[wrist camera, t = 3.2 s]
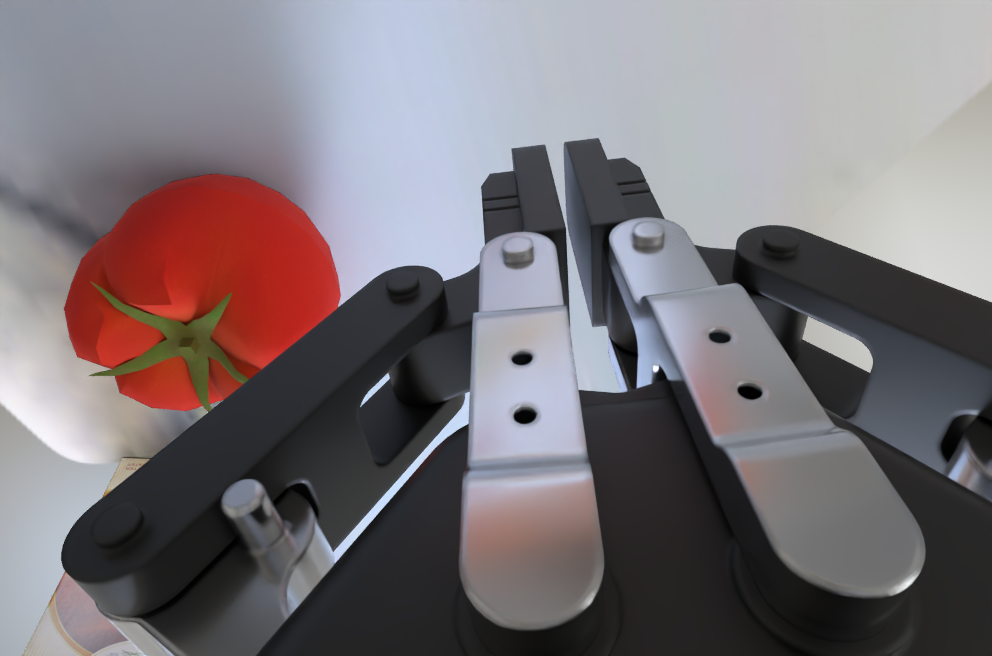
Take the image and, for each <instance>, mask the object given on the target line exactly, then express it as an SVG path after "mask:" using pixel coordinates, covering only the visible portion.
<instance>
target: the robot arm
mask: <svg viewBox="0 0 992 656" xmlns="http://www.w3.org/2000/svg"><path fill="white" fill-rule="evenodd" d="M512 160H513V170H514V171H510V172H501V173H493V174H490V175H489V176H488V178H487V179H486V180H485V182H484V183H483V185H482V186H481V189H482V205H483V221H484V236H485V246H484V247H483V248H482V250H481V253H480V263H479V264H478V265H477V266H476V267H475V268H474V269H472V270H470V271H469V272H467V273H465V274H463V275H461V276H458V277H456V278H452V279H449V280H446V281H443V279H442V277H441V275H440V274H439V273H438V272H436V271H435V270H433V269H430V268H428V267H423V266H403V267H398V268H395V269H391V270H389V271H386V272H384V273H382V274H380V275H379V276H377V277H376V278H374V279H373V280H372V281H371V282H369V283H368V284H367V285H366V286H365V287H363V288H362V289H361V290H360V291H358V292H357V293H356V294H355V295H353V296H352V297H351V298H350V299H348V300H347V301H346V302H345V303H343V304H342V305H341V306H340V307H338V308H337V309H336V310H335V311H334V312H332V313H331V314H330V315H329V316H327V317H326V318H325V319H324V320H322V321H321V322H320V323H319V324H317V325H316V326H315V327H314V328H312V329H311V330H310V331H309V332H307V333H306V334H305V335H304V336H303V337H301V338H300V339H299V340H298V341H296V342H295V343H294V344H293V345H291V346H290V347H289V348H288V349H286V350H285V351H284V352H283V353H281V354H280V355H279V356H278V357H276V358H275V359H274V360H273V361H272V362H270V363H269V364H268V365H267V366H265V367H264V368H263V369H262V370H260V371H259V372H258V373H257V374H255V375H254V376H253V377H252V378H250V379H249V380H248V381H247V382H245V383H244V384H243V385H242V386H241V387H239V388H238V389H237V390H236V391H234V392H233V393H232V394H231V395H229V396H228V397H227V398H226V399H224V400H223V401H222V402H221V403H219V404H218V405H217V406H216V407H214V408H213V409H212V410H211V411H210V412H208V413H207V414H206V415H205V416H203V417H202V418H201V419H200V420H198V421H197V422H196V423H195V424H193V425H192V426H191V427H190V428H188V429H187V430H186V431H185V432H183V433H182V434H181V435H180V436H178V437H177V438H176V439H175V440H174V441H172V442H171V443H170V444H169V445H167V446H166V447H165V448H164V449H162V450H161V451H160V452H159V453H157V454H156V455H155V456H154V457H152V458H151V459H150V460H149V461H147V462H146V463H145V464H144V465H143V466H141V467H140V468H139V469H138V470H136V471H135V472H134V473H133V474H131V475H130V476H129V477H128V478H126V479H125V480H124V481H123V482H121V483H120V484H119V485H118V486H116V487H115V488H114V489H113V490H112V491H110V492H109V493H108V494H107V495H105V496H104V497H103V498H102V499H101V500H99V501H98V502H97V503H96V504H94V505H93V506H92V507H91V508H89V509H88V510H87V511H86V512H85V513H84V514H83V515H82V516H81V517H80V518H79V519H78V520H77V522H76V523H75V524H74V525H73V527H72V528H71V530H70V532H69V533H68V535H67V537H66V539H65V541H64V544H63V548H62V552H61V561H62V565H63V568H64V570H65V571H66V573H67V574H68V575H69V576H70V577H71V578H72V579H73V580H74V581H75V582H76V583H77V584H78V585H79V586H80V587H81V588H82V589H83V590H84V591H85V592H86V593H87V594H88V595H89V596H90V597H91V598H92V599H93V600H94V601H95V604H96V607H97V608H98V610H99V612H100V613H101V614H102V615H103V616H104V617H105V618H106V619H107V620H108V621H109V622H110V623H111V624H112V625H113V626H114V627H115V628H116V629H117V630H118V631H119V632H121V633H122V634H123V635H124V636H125V637H126V638H127V639H128V640H129V641H130V642H131V643H132V644H133V645H134V646H135V647H136V648H137V649H138V650H139V651H140V652H141V653H142V654H144V655H146V656H992V302H989V301H986V300H984V299H981V298H978V297H976V296H973V295H971V294H968V293H965V292H963V291H960V290H957V289H955V288H952V287H950V286H947V285H944V284H942V283H939V282H937V281H934V280H931V279H929V278H926V277H923V276H921V275H918V274H915V273H913V272H910V271H908V270H905V269H902V268H900V267H897V266H894V265H892V264H889V263H887V262H884V261H881V260H879V259H876V258H873V257H871V256H868V255H866V254H863V253H860V252H858V251H855V250H852V249H850V248H847V247H845V246H842V245H839V244H837V243H834V242H832V241H829V240H826V239H824V238H821V237H819V236H816V235H813V234H811V233H808V232H805V231H803V230H800V229H797V228H793V227H788V226H778V225H769V226H760V227H756V228H753V229H750V230H748V231H746V232H744V233H743V234H742V235H740V237H739V238H738V240H737V244H736V250H731V249H718V248H707V247H701V246H697V245H694V244H693V243H692V241H691V239H690V238H689V236H688V234H687V233H686V231H685V230H684V229H683V228H682V227H681V226H680V225H678V224H676V223H674V222H672V221H669V220H665V219H664V217H663V215H662V213H661V211H660V209H659V206H658V204H657V202H656V200H655V198H654V196H653V194H652V192H651V190H650V188H649V186H648V184H647V182H646V179H645V177H644V175H643V173H642V171H641V169H640V167H638V166H637V165H635V164H634V163H632V162H630V161H629V160H627V159H626V158H619V159H610V160H607V157H606V155H605V153H604V150H603V148H602V145H601V143H600V140H599V139H598V138H595V139H587V140H579V141H570V142H564V171H565V195H566V214H567V224H568V231H569V236H570V240H571V244H572V248H573V252H574V256H575V260H576V264H577V268H578V272H579V275H580V279H581V283H582V287H583V291H584V295H585V299H586V303H587V307H588V311H589V315H590V319H591V323H592V327H599V326H607V328H608V332H609V338H608V353H609V357H610V360H611V363H612V366H613V369H614V372H615V375H616V378H617V381H618V384H619V387H620V390H621V393H609V392H596V391H584V390H578V383H577V376H576V369H575V362H574V355H573V347H572V340H571V333H570V314H569V290H568V267H567V244H566V227H565V223H564V219H563V215H562V211H561V207H560V203H559V199H558V195H557V191H556V187H555V183H554V179H553V175H552V171H551V167H550V163H549V159H548V155H547V151H546V147H545V145H537V146H529V147H521V148H512ZM808 316H809V317H811V318H813V319H815V320H817V321H819V322H822V323H824V324H826V325H828V326H830V327H832V328H834V329H837V330H839V331H841V332H843V333H845V334H847V335H849V336H852V337H854V338H856V339H857V340H859V341H861V342H862V343H863V344H864V345H865V346H866V347H867V348H868V349H869V351H870V353H871V355H872V357H873V367H872V370H871V372H870V373H869V372H867V371H865V370H863V369H861V368H859V367H857V366H855V365H853V364H851V363H849V362H847V361H845V360H842V359H841V358H839V357H837V356H834V355H833V354H831V353H828V352H827V351H824V350H822V349H820V348H818V347H816V346H814V345H812V344H810V343H808V342H806V341H804V340H802V337H803V334H804V329H805V326H806V322H807V318H808ZM387 373H389V376H390V379H389V380H388V381H387V382H386V383H385V384H384V385H383V386H382V387H381V388H380V389H379V390H378V391H377V392H376V393H375V394H374V395H373V396H372V397H371V398H370V399H369V400H368V401H366V402H365V403H364V404H363V405H362V406H361V403H362V401H363V399H364V397H365V395H366V394H367V393H368V391H369V390H370V389H371V388H372V387H373V386H375V385H376V384H377V383H378V382H379V381H380V380H381V379H382V378H383V377H384V376H385V375H386V374H387ZM467 392H470V405H469V424H467V425H466V426H464V427H462V428H460V429H459V430H457V431H456V432H454V433H453V434H452V435H450V436H449V437H447V438H446V439H445V440H444V441H443V442H442V443H441V444H439V445H438V446H437V447H436V448H435V449H434V450H433V452H432V453H431V454H430V455H429V456H428V457H427V458H426V459H425V461H424V462H423V463H422V464H421V465H420V466H419V468H418V469H417V470H416V471H415V472H414V473H413V474H412V476H411V477H410V478H409V479H408V480H407V481H406V483H405V484H404V485H403V486H402V487H401V488H400V489H399V491H398V492H397V493H396V494H395V495H394V496H393V497H392V499H391V500H390V501H389V502H388V503H387V504H386V506H385V507H384V508H383V509H382V510H381V511H380V512H379V514H378V515H377V516H376V517H375V518H374V519H373V521H372V522H371V523H370V524H369V525H368V526H367V527H366V529H365V530H364V531H363V532H362V533H361V534H360V535H359V537H358V538H357V539H356V540H355V541H354V542H353V544H352V545H351V546H350V547H349V548H348V549H347V550H346V552H345V553H344V554H343V555H342V556H341V557H340V559H339V560H338V561H337V562H336V563H334V554H333V552H334V550H335V549H336V548H337V547H338V546H339V545H340V544H341V543H342V541H343V540H344V539H345V538H346V537H347V536H348V535H349V534H350V533H351V531H352V530H353V529H354V528H355V527H356V526H357V525H358V524H359V522H360V521H361V520H362V519H363V518H364V517H365V516H366V515H367V513H368V512H369V511H370V510H371V509H372V508H373V507H374V506H375V504H376V503H377V502H378V501H379V500H380V499H381V498H382V497H383V495H384V494H385V493H386V492H387V491H388V490H389V489H390V488H391V487H392V485H393V484H394V483H395V482H396V481H397V480H398V479H399V478H400V476H401V475H402V474H403V473H404V472H405V471H406V470H407V469H408V467H409V466H410V465H411V464H412V463H413V462H414V461H415V460H416V458H417V457H418V456H419V455H420V454H421V453H422V452H423V451H424V449H425V448H426V447H427V446H428V445H429V444H430V443H431V442H432V441H433V439H434V438H435V437H436V436H437V435H438V434H439V433H440V432H441V430H442V429H443V428H444V427H445V426H446V425H447V424H448V423H449V421H450V420H451V419H452V418H453V417H454V416H455V415H456V414H457V412H458V411H459V410H460V409H461V407H462V405H463V403H464V400H465V393H467ZM360 406H361V407H360Z"/></svg>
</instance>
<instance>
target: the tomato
mask: <svg viewBox="0 0 992 656" xmlns="http://www.w3.org/2000/svg"><path fill="white" fill-rule="evenodd" d="M340 296H341V295H340V288H339V281H338V275H337V272H336V268H335V265H334V261H333V258H332V254H331V251H330V248H329V245H328V244H327V243H326V241H325V240H324V238H323V237H322V235H321V234H320V232H319V231H318V230H317V228H316V227H315V226H314V224H313V223H312V221H311V220H310V219H309V217H308V216H307V214H306V213H305V212H304V211H303V210H302V209H300V208H299V207H298V206H296V205H295V204H294V203H292V202H291V201H290V200H289V199H287V198H286V197H285V196H283V195H282V194H281V193H279V192H277V191H275V190H273V189H271V188H269V187H266V186H264V185H262V184H260V183H258V182H256V181H253V180H251V179H249V178H243V177H236V176H228V175H221V174H210V175H203V176H198V177H193V178H188V179H182V180H177V181H172V182H170V183H168V184H167V185H165V186H163V187H161V188H159V189H157V190H155V191H153V192H151V193H149V194H147V195H146V196H144V197H143V198H141V199H140V200H138V201H137V202H135V203H133V204H132V205H131V206H130V207H129V209H128V210H127V211H126V212H125V214H124V215H123V216H122V218H121V219H120V220H119V221H118V223H117V224H116V225H115V227H114V228H113V229H112V231H111V232H109V233H108V234H106V235H105V236H103V237H102V238H101V239H99V240H98V241H97V242H96V244H95V245H94V246H93V247H92V248H91V249H90V250H89V251H88V252H87V253H86V255H85V256H84V257H83V258H82V259H81V262H80V264H79V266H78V269H77V271H76V274H75V276H74V279H73V281H72V283H71V287H70V290H69V293H68V297H67V300H66V303H65V307H64V311H65V316H66V321H67V327H68V332H69V337H70V340H71V342H72V345H73V347H74V350H75V352H76V355H77V357H79V358H81V359H84V360H87V361H90V362H93V363H96V364H98V365H101V366H104V367H107V368H110V369H112V370H107V371H103V372H98V373H94V374H92V375H89V376H115V379H116V382H117V385H118V388H119V392H120V393H121V394H123V395H125V396H128V397H130V398H132V399H134V400H136V401H138V402H140V403H142V404H144V405H147V406H149V407H151V408H158V409H169V410H180V411H188V410H192V409H195V408H198V407H201V406H204V408H205V409H206V410H207V411H208V412H210V411H211V410H212V409H211V406H210V404H211V403H214V402H218V401H221V400H224V399H226V398H227V397H228V396H229V395H231V394H232V393H233V392H234V391H236V390H237V389H238V388H239V387H241V386H242V385H243V384H244V383H245V382H247V381H248V380H249V379H250V378H252V377H253V376H254V375H255V374H257V373H258V372H259V371H260V370H262V369H263V368H264V367H265V366H267V365H268V364H269V363H270V362H272V361H273V360H274V359H275V358H276V357H278V356H279V355H280V354H281V353H283V352H284V351H285V350H286V349H288V348H289V347H290V346H291V345H293V344H294V343H295V342H296V341H298V340H299V339H300V338H301V337H303V336H304V335H305V334H306V333H307V332H309V331H310V330H311V329H312V328H314V327H315V326H316V325H317V324H319V323H320V322H321V321H322V320H324V319H325V318H326V317H327V316H329V315H330V314H331V313H332V312H334V311H335V310H336V309H337V308H338V304H339V300H340Z"/></svg>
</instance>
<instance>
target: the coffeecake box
mask: <svg viewBox="0 0 992 656" xmlns="http://www.w3.org/2000/svg"><path fill="white" fill-rule="evenodd" d="M149 460H150V459H136V458H122V459H121V462H120V464H119V466H118V468H117V470H116V472H115V473H114V475H113V477H112V479H111V481H110V483H109V485H108V487H107V489H106V491H105V493H104V495H103V497H104V496H105V495H107V494H108V493H109V492H110V491H112V490H113V489H114V488H115V487H116V486H118V485H119V484H120V483H121V482H123V481H124V480H125V479H126V478H128V477H129V476H130V475H131V474H133V473H134V472H135V471H136V470H138V469H139V468H140V467H141V466H143V465H144V464H145V463H146V462H147V461H149ZM103 497H102V498H103ZM22 656H146V655H144V654H142V653H141V652H140V651H139V650H138V649H137V648H136V647H135V646H134V645H133V644H132V643H131V642H130V641H129V640H128V639H127V638H126V637H125V636H124V635H123V634H122V633H121V632H119V631H118V630H117V629H116V628H115V627H114V626H113V625H112V624H111V623H110V622H109V621H108V620H107V619H106V618H105V617H104V616H103V615H102V614H101V613H100V612H99V610H98V608H97V607H96V604H95V601H94V600H93V599H92V598H91V597H90V596H89V595H88V594H87V593H86V592H85V591H84V590H83V589H82V588H81V587H80V586H79V585H78V584H77V583H76V582H75V581H74V580H73V579H72V578H71V577H70V576H69V575H68V574H67V573H66V571H65V572H64V574H63V576H62V578H61V580H60V582H59V584H58V586H57V588H56V590H55V592H54V594H53V596H52V598H51V600H50V602H49V604H48V606H47V607H46V609H45V611H44V613H43V615H42V617H41V619H40V621H39V623H38V625H37V627H36V629H35V631H34V633H33V635H32V637H31V639H30V641H29V643H28V645H27V647H26V649H25V651H24V653H23V655H22Z"/></svg>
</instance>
